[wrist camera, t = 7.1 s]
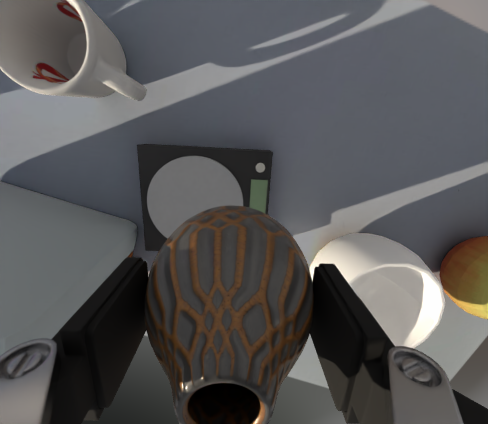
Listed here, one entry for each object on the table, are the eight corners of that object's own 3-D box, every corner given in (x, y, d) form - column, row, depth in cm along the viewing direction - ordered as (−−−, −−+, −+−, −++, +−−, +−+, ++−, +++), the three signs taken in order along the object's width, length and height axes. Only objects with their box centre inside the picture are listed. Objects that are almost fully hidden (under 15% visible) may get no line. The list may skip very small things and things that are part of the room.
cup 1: (175, 65, 25) (148, 35, 17) (143, 135, 27) (105, 135, 19) (73, -3, 23) (-10, -71, 15) (46, 77, 25) (-39, 53, 17)
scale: (145, 143, 27) (134, 145, 24) (270, 150, 28) (273, 152, 25) (152, 242, 31) (143, 253, 28) (262, 246, 31) (264, 257, 28)
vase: (158, 204, 13) (21, 324, 5) (283, 180, 13) (361, 264, 5) (191, 307, 15) (133, 512, 7) (298, 288, 15) (372, 479, 7)
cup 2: (312, 211, 30) (344, 245, 21) (405, 228, 31) (476, 269, 22) (287, 294, 33) (305, 355, 24) (371, 308, 34) (419, 371, 25)
